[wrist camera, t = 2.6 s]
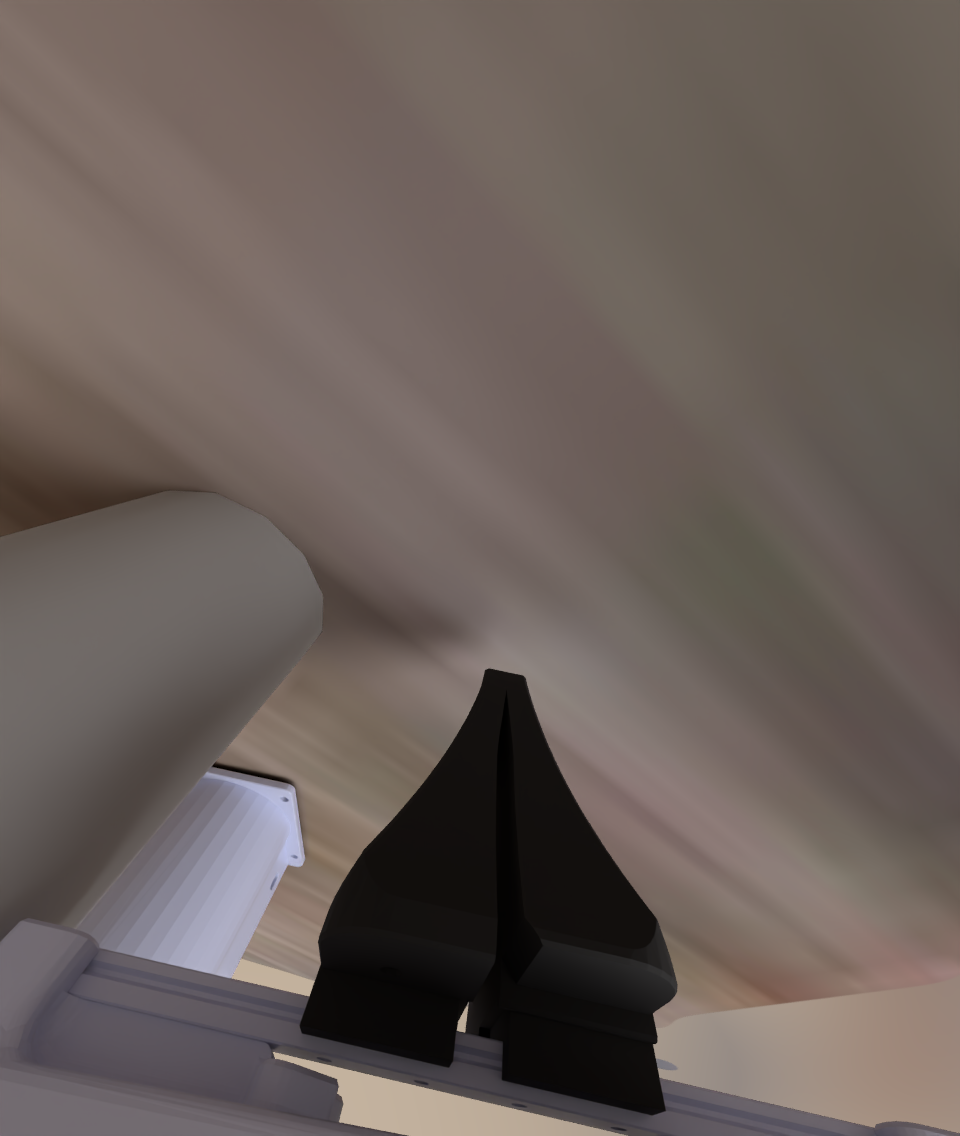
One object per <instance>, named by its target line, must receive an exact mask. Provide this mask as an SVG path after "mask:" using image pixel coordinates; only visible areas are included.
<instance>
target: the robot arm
mask: <svg viewBox="0 0 960 1136" xmlns="http://www.w3.org/2000/svg"><path fill="white" fill-rule="evenodd" d="M304 861H305V856H304V848H303V841H302V834H301V827H300V820H299V813H298V806H297V799H296V792H295V788H294V787H293V786H292V785H290V784H288V783H283V782H279V781H274V780H270V779H265V778H261V777H256V776H252V775H247V774H243V773H238V772H233V771H229V770H224V769H220V768H215V767H211V768H210V769H209V770H208V771H207V772H206V774H205V775H204V776H203V777H202V778H201V780H200V781H199V782H198V783H197V784H196V786H195V787H194V788H193V789H192V790H191V792H190V793H189V794H188V795H187V796H186V798H185V799H184V800H183V801H182V802H181V804H180V805H179V806H178V807H177V808H176V810H175V811H174V812H173V813H172V814H171V816H170V817H169V818H168V819H167V820H166V822H165V823H164V824H163V825H162V826H161V828H160V829H159V830H158V831H157V832H156V834H155V835H154V836H153V837H152V838H151V840H150V841H149V842H148V843H147V845H146V846H145V847H144V848H143V849H142V851H141V852H140V853H139V854H138V855H137V857H136V858H135V859H134V860H133V861H132V863H131V864H130V865H129V866H128V867H127V869H126V870H125V871H124V872H123V873H122V875H121V876H120V877H119V878H118V879H117V881H116V882H115V883H114V884H113V885H112V887H111V888H110V889H109V890H108V891H107V893H106V894H105V895H104V896H103V897H102V899H101V900H100V901H99V902H98V903H97V905H96V906H95V907H94V908H93V909H92V911H91V912H90V913H89V914H88V915H87V917H86V918H85V919H84V920H83V921H82V923H81V924H80V925H79V926H78V927H77V929H74V928H70V927H65V926H61V925H57V924H52V923H48V922H44V921H39V920H35V919H31V918H27V919H24V920H22V921H20V922H19V923H18V924H17V925H16V926H15V927H14V928H13V929H12V930H11V931H10V932H9V933H8V934H7V935H6V936H5V937H4V938H3V940H2V941H1V942H0V1136H407V1135H401V1134H396V1133H391V1132H386V1131H380V1130H375V1129H371V1128H365V1127H360V1126H355V1125H350V1124H344V1123H339V1119H340V1114H341V1111H342V1107H343V1101H342V1097H341V1096H339V1095H338V1094H337V1091H338V1082H337V1079H335V1078H332V1077H329V1076H327V1075H324V1074H321V1073H318V1072H316V1071H313V1070H310V1069H307V1068H304V1067H302V1066H299V1065H296V1064H294V1063H290V1062H287V1061H283V1060H279V1059H275V1057H274V1054H273V1052H276V1053H281V1054H285V1055H289V1056H293V1057H298V1058H302V1059H306V1060H311V1061H314V1062H319V1063H323V1064H327V1065H332V1066H336V1067H340V1068H344V1069H348V1070H353V1071H357V1072H361V1073H365V1074H370V1075H374V1076H379V1077H382V1078H387V1079H391V1080H395V1081H399V1082H403V1083H408V1084H412V1085H416V1086H421V1087H425V1088H429V1089H433V1090H437V1091H442V1092H446V1093H450V1094H454V1095H458V1096H463V1097H467V1098H471V1099H476V1100H480V1101H484V1102H488V1103H493V1104H497V1105H501V1106H506V1107H509V1108H514V1109H518V1110H523V1111H526V1112H530V1113H535V1114H539V1115H543V1116H548V1117H552V1118H556V1119H560V1120H564V1121H569V1122H573V1123H577V1124H581V1125H586V1126H590V1127H594V1128H599V1129H603V1130H607V1131H611V1132H615V1133H619V1134H624V1135H628V1136H960V1133H955V1132H951V1131H947V1130H942V1129H938V1128H934V1127H929V1126H925V1125H920V1124H916V1123H909V1122H897V1121H895V1122H884V1123H880V1124H876V1126H875V1128H872V1127H868V1126H864V1125H860V1124H855V1123H851V1122H847V1121H842V1120H838V1119H834V1118H829V1117H825V1116H821V1115H817V1114H812V1113H808V1112H804V1111H799V1110H795V1109H791V1108H787V1107H782V1106H778V1105H774V1104H769V1103H765V1102H760V1101H756V1100H752V1099H748V1098H743V1097H739V1096H735V1095H730V1094H726V1093H722V1092H717V1091H713V1090H709V1089H705V1088H700V1087H696V1086H692V1085H688V1084H683V1083H679V1082H675V1081H670V1080H666V1079H662V1078H659V1073H658V1068H657V1063H656V1058H655V1053H654V1048H653V1044H656V1043H657V1032H656V1027H655V1022H654V1017H653V1013H654V1012H655V1011H656V1010H658V1009H659V1008H661V1007H662V1006H664V1005H665V1004H667V1003H668V1002H670V1001H671V1000H672V998H673V997H674V996H675V994H676V992H677V981H676V977H675V973H674V970H673V966H672V962H671V958H670V955H669V952H668V949H667V946H666V943H665V940H664V938H663V935H662V932H661V929H660V926H659V923H658V921H657V919H656V917H655V916H654V915H653V913H652V912H651V911H650V910H649V908H648V907H647V906H646V904H645V903H644V902H643V900H642V899H641V898H640V896H639V895H638V894H637V892H636V891H635V890H634V888H633V887H632V886H631V884H630V883H629V882H628V880H627V879H626V877H625V876H624V875H623V873H622V872H621V870H620V869H619V867H618V866H617V865H616V863H615V862H614V860H613V859H612V857H611V856H610V854H609V853H608V852H607V850H606V849H605V847H604V845H603V844H602V842H601V841H600V839H599V838H598V836H597V834H596V833H595V831H594V830H593V828H592V826H591V825H590V823H589V822H588V820H587V819H586V817H585V815H584V814H583V812H582V810H581V809H580V807H579V805H578V803H577V802H576V800H575V798H574V796H573V795H572V793H571V791H570V789H569V787H568V785H567V783H566V781H565V779H564V778H563V776H562V774H561V772H560V770H559V767H558V765H557V763H556V761H555V759H554V757H553V754H552V752H551V750H550V748H549V746H548V743H547V741H546V738H545V736H544V733H543V731H542V728H541V726H540V723H539V720H538V718H537V715H536V712H535V709H534V706H533V703H532V700H531V697H530V693H529V690H528V686H527V682H526V678H525V677H524V676H523V675H518V674H513V673H508V672H503V671H499V670H494V669H487V670H485V673H484V677H483V681H482V686H481V688H480V691H479V693H478V696H477V698H476V700H475V702H474V704H473V706H472V708H471V711H470V713H469V715H468V716H467V718H466V720H465V722H464V724H463V725H462V727H461V729H460V730H459V732H458V734H457V736H456V737H455V739H454V740H453V742H452V744H451V745H450V747H449V748H448V750H447V751H446V753H445V754H444V756H443V757H442V759H441V760H440V761H439V763H438V764H437V766H436V767H435V768H434V770H433V771H432V772H431V774H430V775H429V776H428V778H427V779H426V780H425V782H424V783H423V784H422V785H421V787H420V788H419V789H418V790H417V792H416V793H415V794H414V795H413V796H412V798H411V799H410V800H409V801H408V802H407V803H406V805H405V806H404V807H403V808H402V809H401V811H400V812H399V813H398V814H397V815H396V816H395V817H394V819H393V820H392V821H391V822H390V823H389V824H388V825H387V826H386V827H385V828H384V829H383V830H382V831H381V832H380V833H379V834H378V836H377V837H376V838H375V839H374V840H373V841H372V842H371V843H370V844H369V845H368V846H367V847H366V848H365V849H364V850H363V852H362V854H361V855H360V857H359V858H358V860H357V861H356V863H355V864H354V866H353V867H352V869H351V870H350V872H349V874H348V875H347V877H346V878H345V880H344V881H343V883H342V885H341V887H340V888H339V890H338V892H337V894H336V896H335V898H334V900H333V902H332V904H331V906H330V909H329V911H328V914H327V917H326V919H325V922H324V925H323V928H322V930H321V933H320V936H319V940H318V944H319V952H320V959H321V965H320V968H319V971H318V974H317V977H316V980H315V982H314V985H313V988H312V991H311V994H310V997H309V996H304V995H300V994H296V993H291V992H287V991H283V990H279V989H274V988H270V987H266V986H261V985H257V984H253V983H248V982H244V981H240V980H235V979H231V978H232V976H233V974H234V972H235V970H236V968H237V966H238V964H239V962H240V959H241V958H242V956H243V954H244V952H245V950H246V948H247V945H248V943H249V941H250V939H251V937H252V935H253V933H254V931H255V929H256V927H257V925H258V923H259V921H260V919H261V917H262V915H263V913H264V911H265V909H266V907H267V905H268V903H269V901H270V899H271V897H272V895H273V893H274V891H275V889H276V887H277V885H278V883H279V881H280V879H281V877H282V875H283V873H284V871H285V869H286V867H287V865H291V866H296V867H300V866H302V865H303V863H304ZM468 1002H469V1007H468V1014H467V1022H466V1032H465V1033H464V1032H459V1031H457V1025H458V1020H459V1019H460V1017H461V1015H462V1013H463V1011H464V1009H465V1007H466V1006H467V1004H468Z"/></svg>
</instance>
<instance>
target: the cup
mask: <svg viewBox="0 0 960 1136" xmlns="http://www.w3.org/2000/svg"><path fill="white" fill-rule="evenodd" d="M322 622H323V594H322V592H321V590H320V588H319V586H318V584H317V582H316V579H315V577H314V575H313V573H312V571H311V569H310V567H309V564H308V562H307V560H306V558H305V556H304V554H303V553H302V552H301V551H300V550H299V549H298V548H297V547H296V546H295V545H294V544H293V543H292V542H291V541H290V540H289V539H287V538H286V537H285V536H284V535H283V534H282V533H281V532H280V531H279V530H278V529H277V528H276V527H275V526H274V525H273V524H272V523H271V522H270V521H269V520H268V519H267V518H266V517H265V516H263V515H261V514H259V513H257V512H255V511H253V510H251V509H248V508H246V507H244V506H242V505H240V504H238V503H236V502H234V501H232V500H230V499H228V498H226V497H224V496H221V495H219V494H217V493H213V492H192V491H172V490H168V491H164V492H160V493H157V494H153V495H149V496H146V497H142V498H139V499H135V500H131V501H128V502H124V503H121V504H117V505H113V506H110V507H106V508H103V509H99V510H95V511H92V512H88V513H84V514H81V515H77V516H74V517H70V518H66V519H63V520H59V521H56V522H52V523H48V524H45V525H41V526H38V527H34V528H30V529H27V530H23V531H20V532H16V533H12V534H9V535H5V536H1V537H0V942H1V941H2V940H3V938H4V937H5V936H6V935H7V934H8V933H9V932H10V931H11V930H12V929H13V928H14V927H15V926H16V925H17V924H18V923H19V922H20V921H22V920H24V919H27V918H31V919H35V920H39V921H44V922H48V923H52V924H57V925H61V926H65V927H70V928H74V929H77V927H78V926H79V925H80V924H81V923H82V921H83V920H84V919H85V918H86V917H87V915H88V914H89V913H90V912H91V911H92V909H93V908H94V907H95V906H96V905H97V903H98V902H99V901H100V900H101V899H102V897H103V896H104V895H105V894H106V893H107V891H108V890H109V889H110V888H111V887H112V885H113V884H114V883H115V882H116V881H117V879H118V878H119V877H120V876H121V875H122V873H123V872H124V871H125V870H126V869H127V867H128V866H129V865H130V864H131V863H132V861H133V860H134V859H135V858H136V857H137V855H138V854H139V853H140V852H141V851H142V849H143V848H144V847H145V846H146V845H147V843H148V842H149V841H150V840H151V838H152V837H153V836H154V835H155V834H156V832H157V831H158V830H159V829H160V828H161V826H162V825H163V824H164V823H165V822H166V820H167V819H168V818H169V817H170V816H171V814H172V813H173V812H174V811H175V810H176V808H177V807H178V806H179V805H180V804H181V802H182V801H183V800H184V799H185V798H186V796H187V795H188V794H189V793H190V792H191V790H192V789H193V788H194V787H195V786H196V784H197V783H198V782H199V781H200V780H201V778H202V777H203V776H204V775H205V774H206V772H207V771H208V770H209V769H210V768H211V766H212V765H213V764H214V763H215V762H216V760H217V759H218V758H219V757H220V756H221V754H222V753H223V752H224V751H225V750H226V748H227V747H228V746H229V745H230V744H231V742H232V741H233V740H234V739H235V738H236V736H237V735H238V734H239V733H240V732H241V730H242V729H243V728H244V727H245V726H246V724H247V723H248V722H249V721H250V719H251V718H252V717H253V716H254V715H255V713H256V712H257V711H258V710H259V709H260V707H261V706H262V705H263V704H264V703H265V701H266V700H267V699H268V698H269V697H270V695H271V694H272V693H273V692H274V691H275V689H276V688H277V687H278V686H279V685H280V683H281V682H282V681H283V680H284V679H285V677H286V676H287V675H288V674H289V673H290V671H291V670H292V669H293V668H294V667H295V665H296V664H297V663H298V662H299V661H300V659H301V658H302V657H303V656H304V655H305V653H306V652H307V651H308V649H309V648H310V647H311V645H312V644H313V643H314V641H315V640H316V639H317V638H318V636H319V635H320V634H321V632H322Z"/></svg>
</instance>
